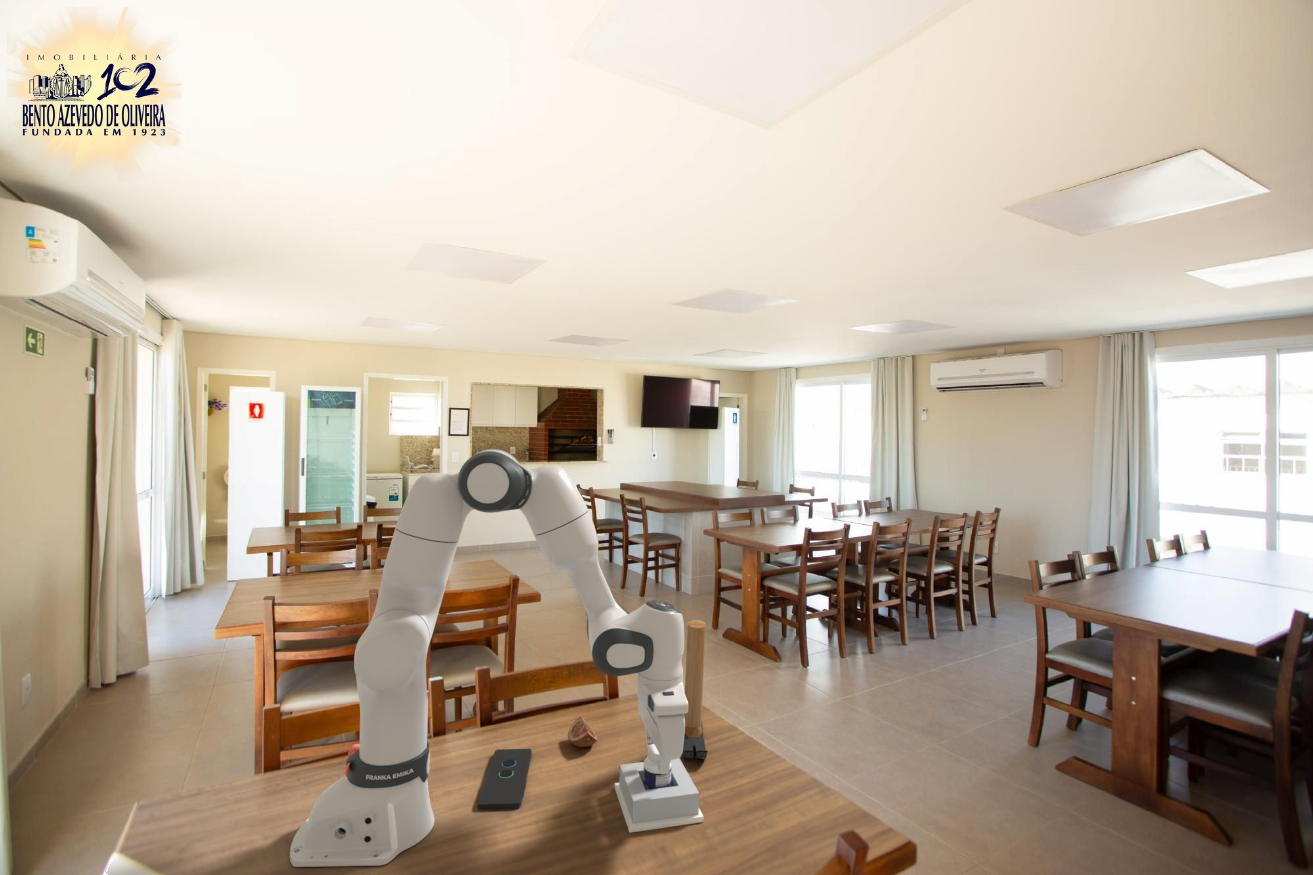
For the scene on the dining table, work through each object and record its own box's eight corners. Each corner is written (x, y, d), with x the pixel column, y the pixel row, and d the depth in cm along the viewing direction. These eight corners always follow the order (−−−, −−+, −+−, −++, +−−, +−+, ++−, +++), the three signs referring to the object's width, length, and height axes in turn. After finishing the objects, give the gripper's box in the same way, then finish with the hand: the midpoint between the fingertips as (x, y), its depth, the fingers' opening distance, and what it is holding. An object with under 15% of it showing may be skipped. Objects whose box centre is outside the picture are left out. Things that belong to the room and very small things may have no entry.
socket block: (629, 832, 107) (630, 804, 107) (614, 787, 121) (615, 763, 121) (703, 821, 111) (704, 794, 111) (681, 779, 124) (681, 755, 124)
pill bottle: (638, 794, 117) (639, 744, 117) (663, 788, 119) (664, 739, 119) (649, 810, 112) (650, 758, 112) (675, 803, 114) (676, 752, 114)
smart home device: (532, 747, 133) (521, 802, 113) (532, 755, 133) (521, 811, 113) (494, 748, 132) (476, 803, 112) (494, 756, 132) (476, 812, 112)
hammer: (706, 774, 130) (712, 648, 125) (683, 774, 130) (688, 647, 125) (699, 715, 150) (704, 604, 145) (679, 715, 150) (683, 603, 145)
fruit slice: (600, 753, 134) (601, 730, 134) (570, 757, 132) (571, 734, 132) (593, 735, 142) (593, 714, 142) (565, 738, 140) (565, 717, 140)
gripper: (632, 667, 125) (629, 733, 125) (657, 711, 105) (654, 790, 105) (661, 665, 127) (658, 731, 127) (691, 708, 107) (688, 786, 107)
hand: (656, 758), depth 116 cm, fingers open, 8 cm apart
